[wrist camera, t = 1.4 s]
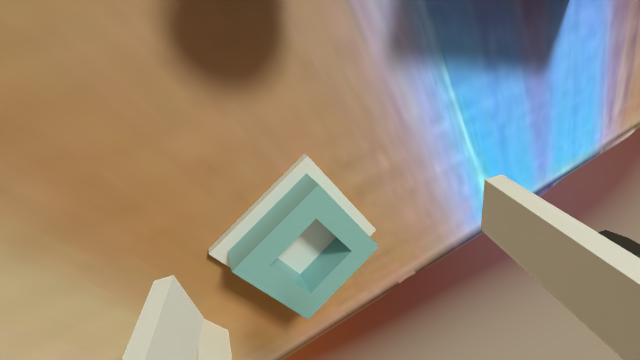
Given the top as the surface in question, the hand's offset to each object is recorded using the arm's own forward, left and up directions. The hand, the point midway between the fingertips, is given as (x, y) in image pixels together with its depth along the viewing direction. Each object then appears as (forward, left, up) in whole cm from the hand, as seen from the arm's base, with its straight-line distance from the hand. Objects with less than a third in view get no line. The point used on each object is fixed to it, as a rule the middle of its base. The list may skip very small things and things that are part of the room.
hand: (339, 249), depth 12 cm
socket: (+8, -9, -18) cm, 22 cm away
